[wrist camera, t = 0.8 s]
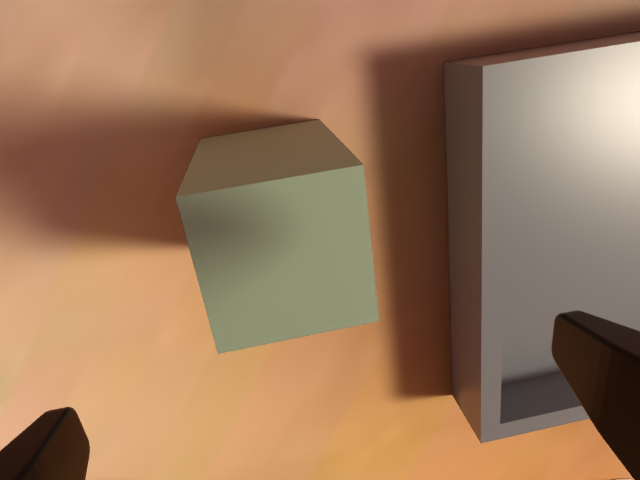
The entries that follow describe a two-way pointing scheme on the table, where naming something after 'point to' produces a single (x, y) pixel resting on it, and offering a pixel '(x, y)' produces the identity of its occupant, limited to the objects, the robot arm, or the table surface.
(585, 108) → the bin
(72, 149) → the table surface
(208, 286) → the green block
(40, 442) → the robot arm
